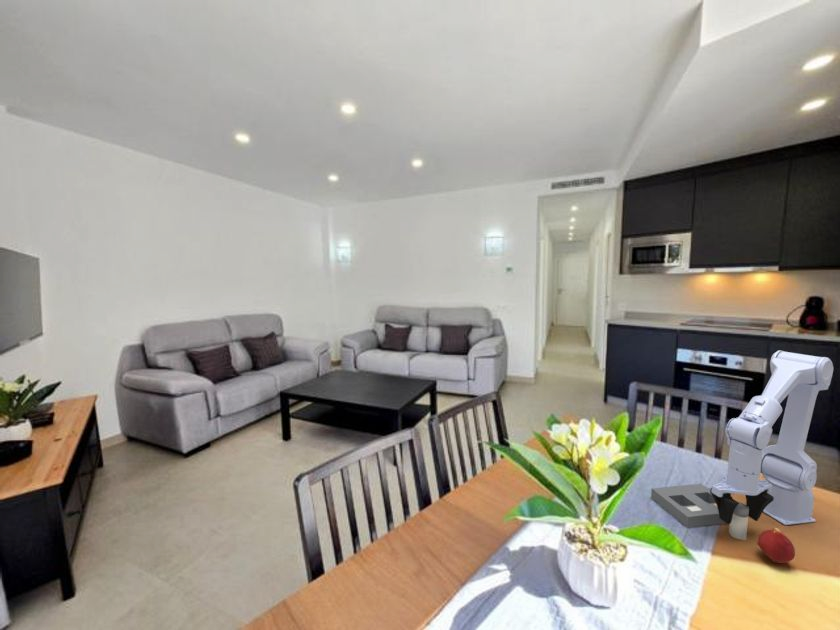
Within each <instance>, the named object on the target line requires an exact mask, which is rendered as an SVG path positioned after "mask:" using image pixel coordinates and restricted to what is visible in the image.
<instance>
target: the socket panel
mask: <svg viewBox="0 0 840 630" xmlns="http://www.w3.org/2000/svg"><path fill="white" fill-rule="evenodd" d="M710 489H711V488H708V487H707V486H706V485H704V484H702V483H695V484H694V483H693V484H684V485H683V484H682V485H675V486H674V485H673V486H664V487H654V488H653V487H652V488H651V493H650V499H652V501H654V502H655V503H657V504H658V506H660V507H662V508H663V510H665V511H666V512H667V513H669V514H670V515H671V516H672V517H673V518H674V519H676V520H677V521H679V522H680V523H681V524H682V525H683V526H684V527H686V528H687V529H690V528H695V527H698V528H699V527H705V526H713V525H721V524H722V525H723V524H727V523H726V522H724V521H723V520H721V519H720V516H719V511H718V508H717V504H716V502H715V500H714V498H713V496H712V494H711V493H710Z"/></svg>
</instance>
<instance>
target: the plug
mask: <svg viewBox="0 0 840 630" xmlns="http://www.w3.org/2000/svg"><path fill="white" fill-rule="evenodd" d="M738 502H739V504H738V505H737V506H736V508H735V510H734V512H733V517H732V521H731V523H730V524H728V525H729V527H728V534H729V535H730V536H731V537H732V538H734V539H737V540H740V541H746V540H747V533H748V523H749V516H748V515H749V507H748V506H747V505H746V504H745V503H743V502H740V501H738Z"/></svg>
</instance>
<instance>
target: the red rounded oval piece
mask: <svg viewBox="0 0 840 630" xmlns="http://www.w3.org/2000/svg"><path fill="white" fill-rule="evenodd" d="M757 544H758V547H759V549H760V550H761V551H762V553H764V554H765V555H766V556H767V557H768V558H769V560H771V561H772V562H774V563H779V564H780V563H781V564H786V563H789V562H792V560H794V558H795V557H796V556H795V555H796V551H795V546H794V544H793V542H792V541H791V540H790V538H788V537H787V536H786V535H785V534H784V533H783V532H782V531H781V530H780V529H779V528H777V527H773V528H772V529H767V530H764V531H762V532H761V533H760V534H759V535H758V538H757Z"/></svg>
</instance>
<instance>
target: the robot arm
mask: <svg viewBox="0 0 840 630" xmlns="http://www.w3.org/2000/svg"><path fill="white" fill-rule="evenodd" d="M833 364H834V363H833V362H832V360H831V359H830V357H826V356H816V355H815V356H814V355H809V354H802V353H797V352H788V351H784V350H780V349H779V350H777V351H776V352H774V353H773V354H772V355H771V358H770V361H769V368H770V373H771V376H770V378H769V380H768V382H767V384H766V386H765V388H764V389H763V391H762V393H761V394H760V395H755V396H753V397H752V398H751V399H750V401H749V402H748V403H747V405H746V406H745V408H744V409H743V411H742V412H741V413H740V414H739V416H738V417H736V418H735V417H733V418H731V419H729V420H728V422H727V424H726V427H725V436H726V438H727V441H726V443H727V446H729V454H728V463H727V473H726V474H727V475H723V480H721V481H720V482H718V483H715V484H712V485H711V488H709V489H710V493H711V494H712V496H713V498H714V500H715V502H716V504H717V508H718V511H719V516H720V519H721V520H723V521H724V522H726V523H725V524H727V525H730V523H731V521H732V517H733V512H734V510H735V508H736V506H737V505H738V504H739V502H740V501H737V500H735V499H734V498H733V496H732V495H735V494H736V495H743V496H745V501H746V502H745V503H746V504H745V505H747V506H748V507H749V515H748V518H750V519H752V520H753V521H756V522H758V521H759V520H760V517H761V516H762V513H764V514H766V515H768V516H769V517H771V518H772V519H774V520H776V521H777V522H779V523H781V524H782V525H785V526H790V525H797V524H798V525H799V524H806V523H807V524H808V523H816V522H817V520H816V519H815V518H814V517H813V511H814V501H815V495H814V492H813V491H812V489H813V488H814V486H815V485H816V482H817V480H818V479H817V467H818V466H817V462H816V461H815V460H814V459H812V458H811V457H810V456H809V455H808V454H807V453H806V452H805V446H806V442H807V439H808V433H809V430H810V425H811V422H812V418H813V413H814V408H815V405H816V400H817V396H818V394H819V392H820V391H826V390H829V387H830V385H831V381H832V378H833V372H834V365H833ZM786 397H787V401H786V406H785V409H784V413H783V418H782V423H781V426H780V431H779V434H778V438H777V442H776V444H771V445H769V443H770V440H771V435H772V433H773V428H772V427H773V426H774V424H775V423H776V421H777V420H778V418H779V417H780V416H781V414H782V412H783V407H782V405H781V403H782V402H783V401H785V399H786ZM761 475H762V476H761ZM760 477H762V478H763V480H762V479H761V478H760ZM760 479H761V480H760Z"/></svg>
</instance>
